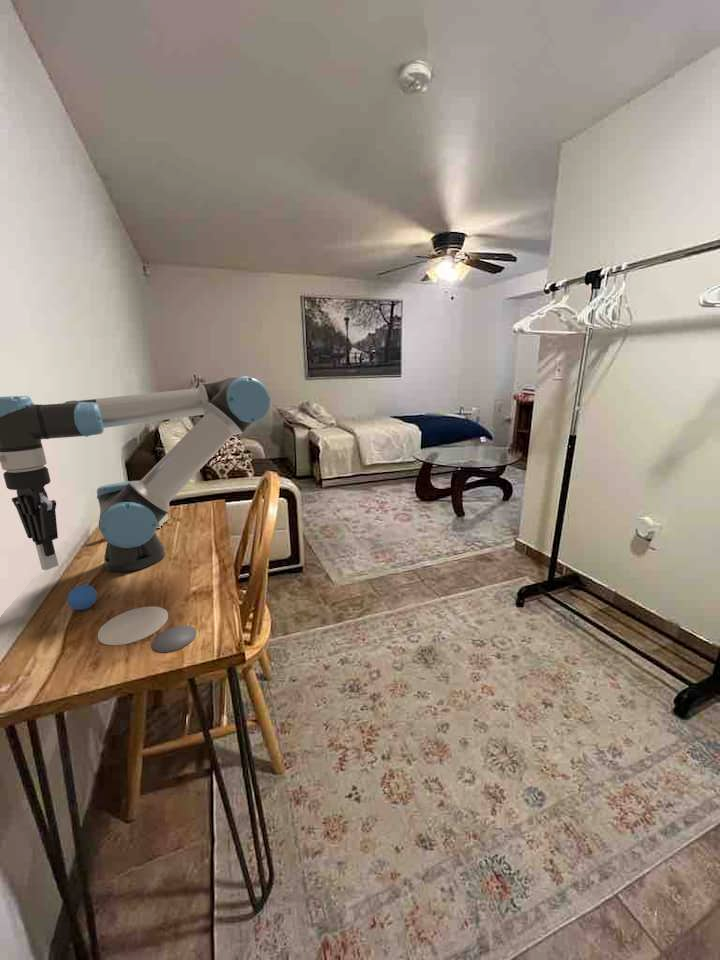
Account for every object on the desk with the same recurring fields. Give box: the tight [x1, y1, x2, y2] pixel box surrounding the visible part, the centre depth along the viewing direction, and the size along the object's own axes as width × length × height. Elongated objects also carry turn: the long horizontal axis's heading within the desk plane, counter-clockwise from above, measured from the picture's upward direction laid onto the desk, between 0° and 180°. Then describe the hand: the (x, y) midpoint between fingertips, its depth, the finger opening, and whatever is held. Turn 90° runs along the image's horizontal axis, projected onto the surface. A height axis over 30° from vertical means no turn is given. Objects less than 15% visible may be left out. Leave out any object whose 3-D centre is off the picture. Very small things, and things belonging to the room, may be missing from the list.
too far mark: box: [151, 624, 197, 653], centre depth 77 cm, size 8×8×1 cm
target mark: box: [97, 606, 169, 646], centre depth 82 cm, size 13×13×1 cm
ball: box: [67, 584, 98, 611], centre depth 89 cm, size 6×6×6 cm
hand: (50, 567), depth 91 cm, fingers closed
